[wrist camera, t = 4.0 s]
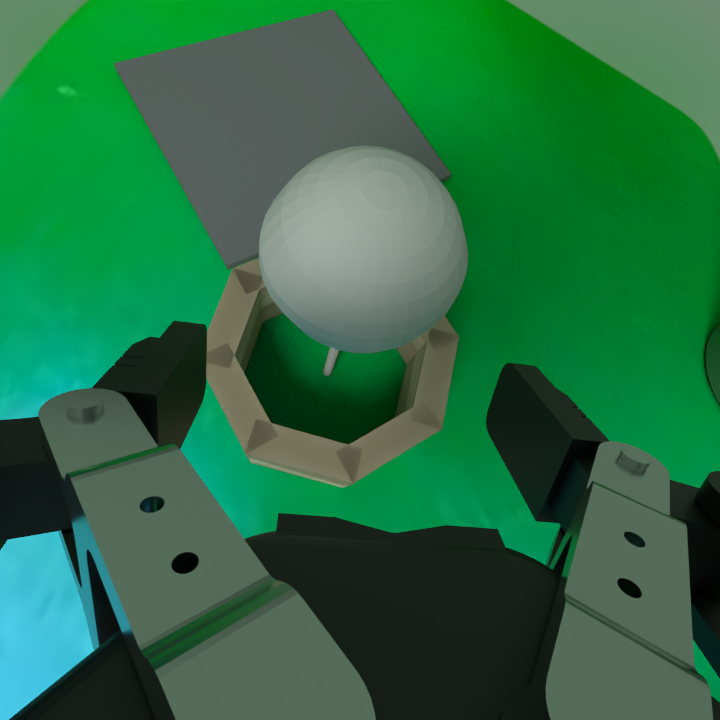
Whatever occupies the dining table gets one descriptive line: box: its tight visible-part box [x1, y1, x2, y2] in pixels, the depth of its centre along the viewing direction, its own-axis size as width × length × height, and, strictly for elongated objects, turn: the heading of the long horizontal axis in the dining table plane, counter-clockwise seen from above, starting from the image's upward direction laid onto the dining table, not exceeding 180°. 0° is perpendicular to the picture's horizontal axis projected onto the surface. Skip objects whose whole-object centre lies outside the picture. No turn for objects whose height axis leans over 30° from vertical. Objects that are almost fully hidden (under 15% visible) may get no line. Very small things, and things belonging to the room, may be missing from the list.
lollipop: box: [259, 146, 468, 376], centre depth 18 cm, size 6×6×15 cm
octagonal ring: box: [206, 258, 459, 488], centre depth 23 cm, size 12×12×4 cm
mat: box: [114, 10, 451, 269], centre depth 29 cm, size 16×16×1 cm
